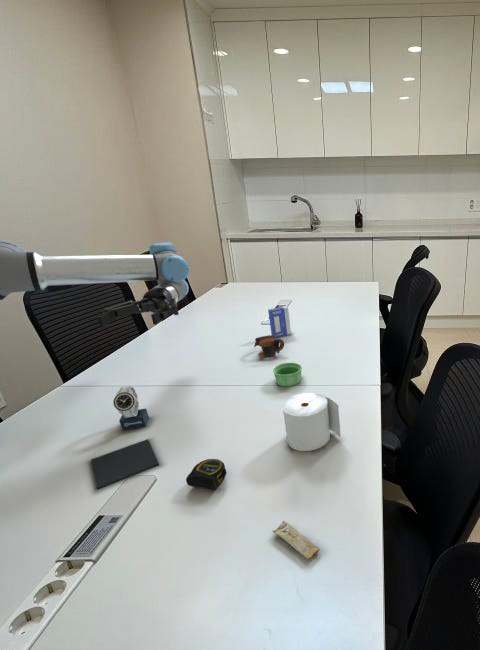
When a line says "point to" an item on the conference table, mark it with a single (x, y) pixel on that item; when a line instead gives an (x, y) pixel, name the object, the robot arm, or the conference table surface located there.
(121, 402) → the watch
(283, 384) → the ramekin
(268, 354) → the pottery mug
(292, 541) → the snack bar
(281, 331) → the walkman
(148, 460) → the dark mat
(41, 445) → the conference table surface
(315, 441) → the toilet tissue
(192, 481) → the tape measure
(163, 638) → the conference table surface
